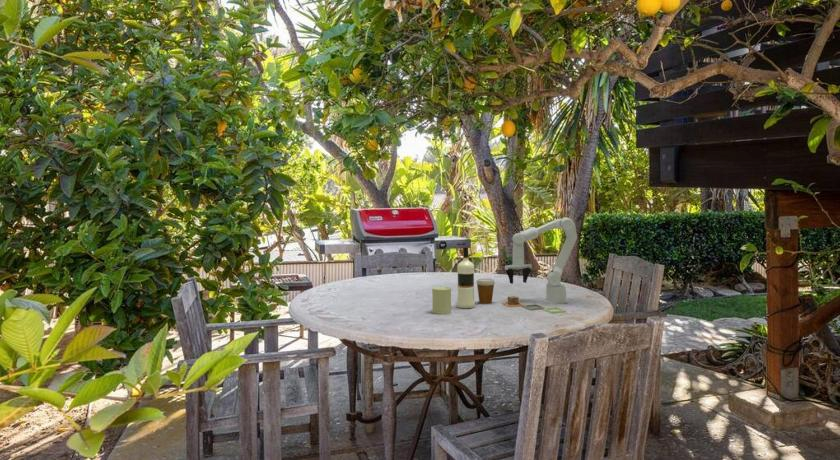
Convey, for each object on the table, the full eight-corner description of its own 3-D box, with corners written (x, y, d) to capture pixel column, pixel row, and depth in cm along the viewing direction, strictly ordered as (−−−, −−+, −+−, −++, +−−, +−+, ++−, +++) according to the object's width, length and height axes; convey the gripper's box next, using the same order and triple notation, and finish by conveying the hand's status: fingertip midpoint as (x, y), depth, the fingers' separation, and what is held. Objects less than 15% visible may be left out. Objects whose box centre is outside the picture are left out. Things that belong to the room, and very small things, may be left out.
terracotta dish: (516, 303, 296) (516, 301, 296) (524, 306, 288) (524, 304, 288) (502, 304, 293) (502, 302, 293) (509, 308, 286) (509, 305, 286)
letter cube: (514, 303, 293) (514, 295, 293) (518, 305, 289) (518, 297, 289) (507, 304, 292) (507, 296, 292) (511, 306, 288) (511, 297, 288)
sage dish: (557, 309, 282) (557, 307, 282) (566, 312, 274) (566, 310, 274) (542, 310, 279) (542, 308, 279) (551, 314, 272) (551, 311, 271)
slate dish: (536, 306, 289) (536, 304, 289) (544, 309, 281) (544, 307, 281) (522, 307, 286) (522, 305, 286) (530, 311, 279) (530, 308, 279)
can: (453, 313, 275) (453, 288, 274) (434, 314, 274) (434, 289, 273) (449, 309, 284) (449, 285, 283) (430, 310, 283) (430, 285, 282)
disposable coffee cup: (494, 305, 292) (494, 281, 292) (475, 304, 294) (475, 281, 293) (495, 301, 302) (495, 278, 301) (477, 301, 304) (477, 278, 303)
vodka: (453, 307, 288) (452, 247, 286) (462, 304, 296) (462, 245, 293) (469, 309, 283) (469, 248, 280) (478, 306, 290) (478, 246, 288)
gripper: (527, 255, 305) (526, 280, 306) (502, 256, 300) (501, 282, 301) (533, 256, 298) (533, 282, 299) (508, 258, 293) (508, 284, 295)
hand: (518, 282), depth 300 cm, fingers open, 7 cm apart
